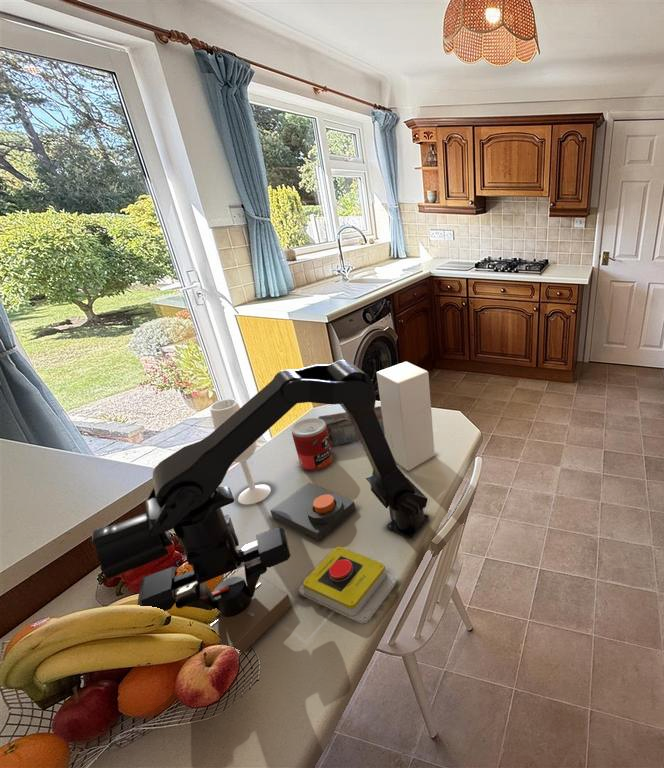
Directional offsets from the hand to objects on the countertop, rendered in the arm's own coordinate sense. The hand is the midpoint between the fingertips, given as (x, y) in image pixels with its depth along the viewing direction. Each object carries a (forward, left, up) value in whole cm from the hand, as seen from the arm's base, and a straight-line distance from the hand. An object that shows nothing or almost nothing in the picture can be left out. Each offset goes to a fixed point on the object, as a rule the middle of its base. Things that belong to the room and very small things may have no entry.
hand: (235, 602), depth 67 cm
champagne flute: (+25, -20, -4) cm, 32 cm away
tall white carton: (+2, -48, -4) cm, 48 cm away
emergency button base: (+8, -22, -4) cm, 24 cm away
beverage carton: (+22, -49, -4) cm, 54 cm away
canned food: (+22, -35, -4) cm, 41 cm away
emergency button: (-12, -12, -4) cm, 17 cm away
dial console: (0, 0, -4) cm, 4 cm away
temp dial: (0, 0, 0) cm, 0 cm away
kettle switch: (+4, -22, 0) cm, 22 cm away
